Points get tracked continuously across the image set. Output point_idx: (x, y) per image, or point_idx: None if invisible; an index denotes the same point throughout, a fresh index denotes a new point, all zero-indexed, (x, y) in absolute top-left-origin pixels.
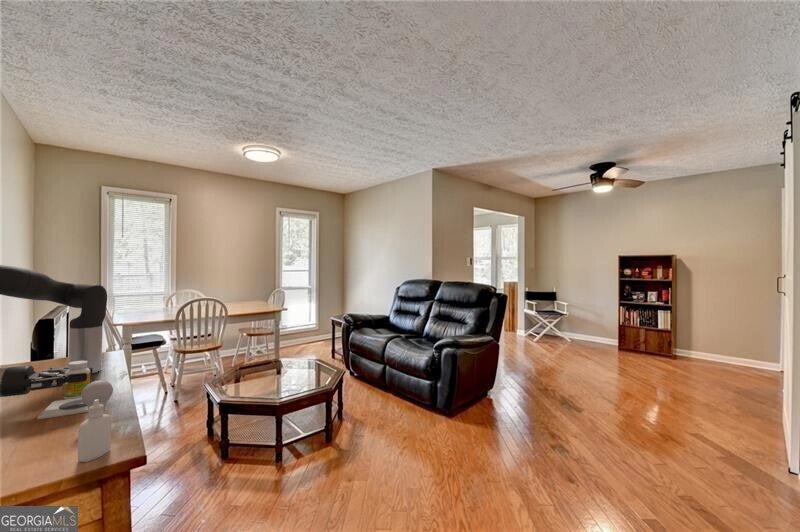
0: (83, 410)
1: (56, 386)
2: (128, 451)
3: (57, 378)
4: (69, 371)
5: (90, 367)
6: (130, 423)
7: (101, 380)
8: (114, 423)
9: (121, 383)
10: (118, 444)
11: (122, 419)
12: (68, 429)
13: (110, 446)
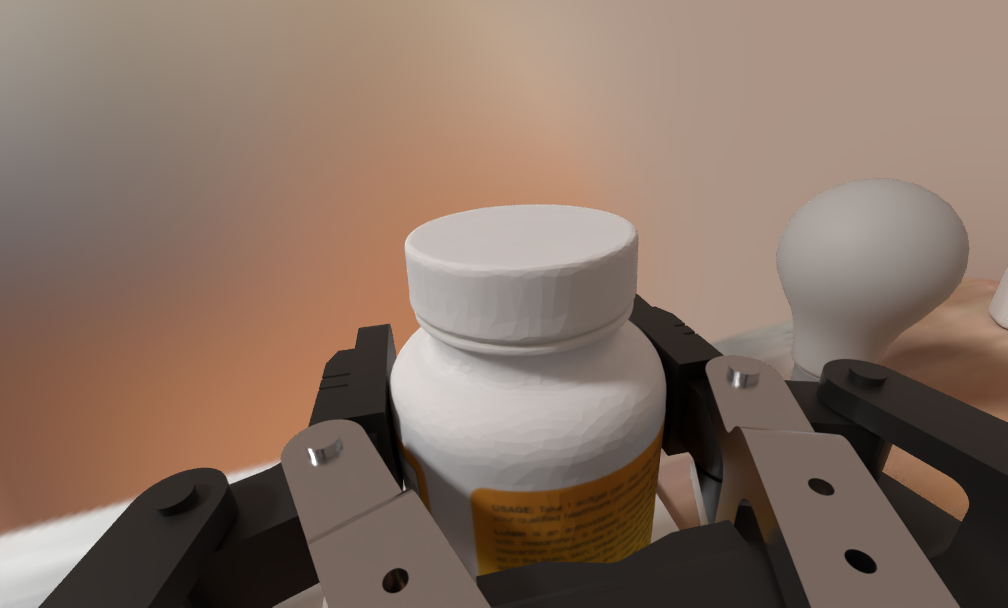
0: (673, 525)
1: (890, 491)
2: (963, 288)
3: (922, 389)
4: (616, 367)
5: (364, 329)
6: (779, 329)
7: (865, 179)
8: (794, 362)
9: (12, 552)
10: (943, 311)
11: (747, 355)
12: (941, 491)
13: (991, 304)
